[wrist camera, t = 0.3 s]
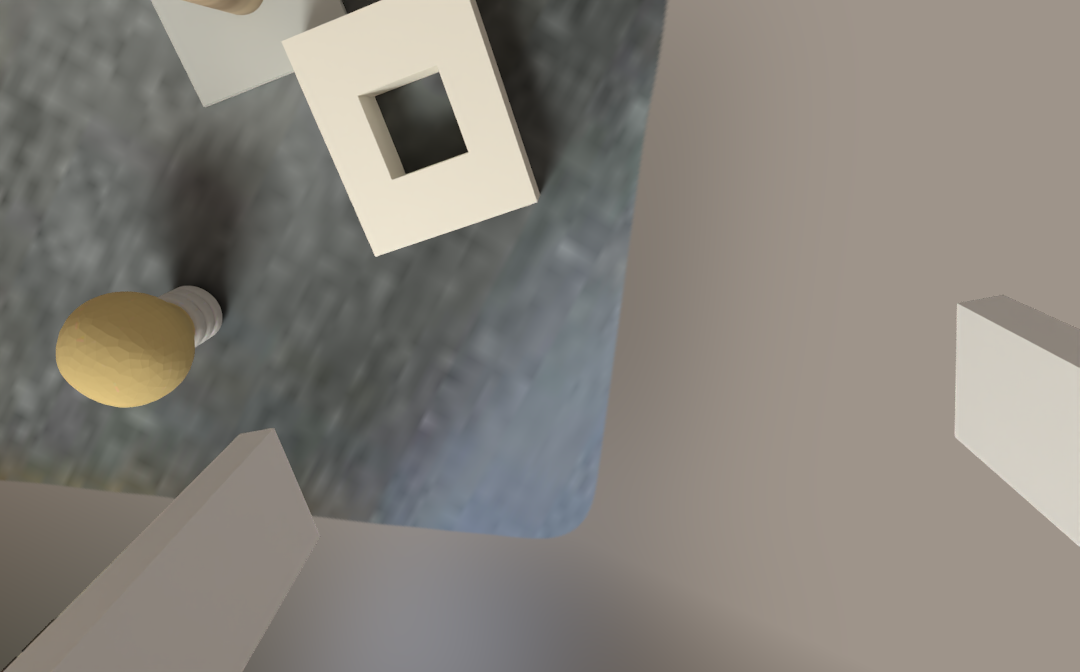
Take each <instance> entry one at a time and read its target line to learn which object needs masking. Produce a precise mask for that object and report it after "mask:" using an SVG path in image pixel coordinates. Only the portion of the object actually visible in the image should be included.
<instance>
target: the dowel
mask: <svg viewBox="0 0 1080 672" xmlns="http://www.w3.org/2000/svg"><path fill="white" fill-rule="evenodd" d="M183 1H187V2H190V3H194V4H198V5H202V6H205V7H209V8H213V9H217V10H220V11H224V12H228V13H232V14H235V15H247V14H250V13H252V12H254V11H255V10H257V9H258V8H259V7H260V5H261V4H262V2H263V0H183Z"/></svg>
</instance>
